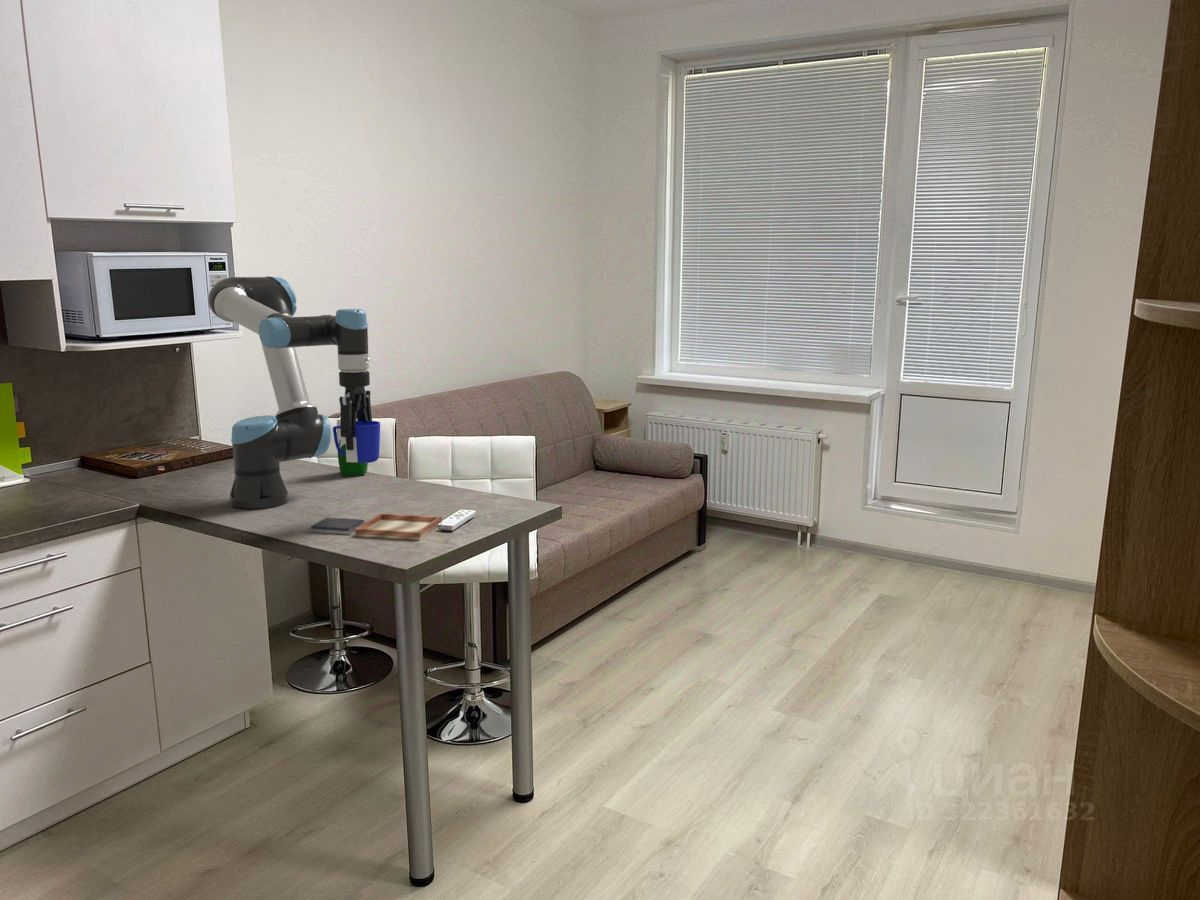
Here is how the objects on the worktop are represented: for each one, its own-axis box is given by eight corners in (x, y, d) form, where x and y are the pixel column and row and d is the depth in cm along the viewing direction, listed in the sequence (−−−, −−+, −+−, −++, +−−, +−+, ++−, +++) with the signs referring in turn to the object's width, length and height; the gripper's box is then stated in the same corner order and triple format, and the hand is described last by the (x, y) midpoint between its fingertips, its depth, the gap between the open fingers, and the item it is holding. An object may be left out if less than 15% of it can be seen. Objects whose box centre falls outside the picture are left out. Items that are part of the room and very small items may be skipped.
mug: (339, 457, 240) (337, 420, 238) (385, 458, 240) (383, 420, 238) (330, 464, 232) (328, 425, 230) (377, 464, 232) (375, 425, 230)
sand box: (355, 536, 220) (354, 528, 220) (380, 520, 234) (380, 513, 234) (420, 540, 217) (419, 532, 217) (442, 523, 231) (441, 516, 231)
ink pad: (308, 532, 223) (308, 526, 223) (326, 522, 232) (325, 516, 232) (350, 534, 221) (349, 529, 221) (366, 524, 230) (366, 519, 230)
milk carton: (366, 476, 283) (363, 412, 279) (336, 476, 282) (333, 413, 278) (370, 470, 292) (367, 408, 288) (341, 470, 291) (338, 408, 287)
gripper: (351, 375, 221) (355, 467, 226) (383, 366, 241) (387, 452, 245) (322, 374, 223) (327, 466, 227) (356, 366, 242) (360, 451, 246)
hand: (358, 458), depth 236 cm, fingers closed on mug, 7 cm apart
